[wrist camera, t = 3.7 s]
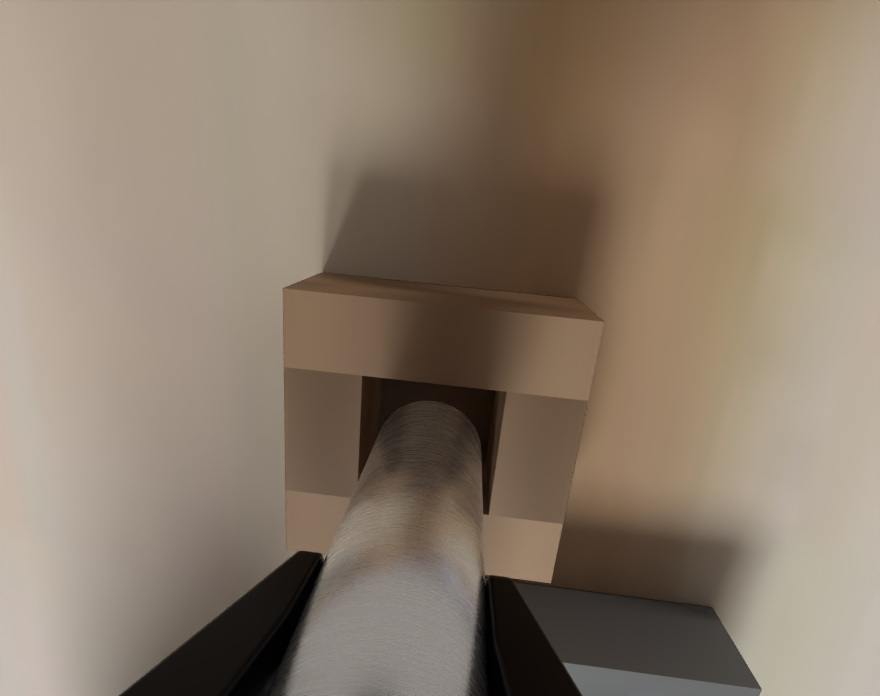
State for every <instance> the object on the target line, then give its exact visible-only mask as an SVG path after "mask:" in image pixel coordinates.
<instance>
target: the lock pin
mask: <svg viewBox="0 0 880 696" xmlns="http://www.w3.org/2000/svg"><path fill="white" fill-rule="evenodd" d="M267 696H489V689H488V658H487V626H486V594H485V560H484V527H483V495H482V463H481V443H480V438H479V435H478V433H477V430H476V428H475V427H474V425H473V424H472V422H471V421H470V420H469V419H468V418H467V417H466V416H465V415H464V414H463V413H462V412H460V411H459V410H457V409H456V408H454V407H452V406H450V405H447V404H444V403H441V402H436V401H418V402H413V403H410V404H407V405H404V406H402V407H400V408H399V409H397V410H396V411H394V412H393V413H392V414H391V415H390V416H389V417H388V418H387V419H386V420H385V422H384V424H383V425H382V427H381V429H380V432H379V434H378V436H377V439H376V441H375V443H374V446H373V448H372V450H371V453H370V455H369V457H368V460H367V462H366V464H365V467H364V469H363V471H362V474H361V476H360V478H359V481H358V483H357V485H356V488H355V490H354V492H353V495H352V497H351V499H350V502H349V504H348V507H347V509H346V511H345V514H344V516H343V518H342V521H341V523H340V525H339V528H338V530H337V532H336V535H335V537H334V539H333V542H332V544H331V546H330V549H329V551H328V553H327V556H326V558H325V560H324V563H323V565H322V567H321V570H320V572H319V574H318V577H317V579H316V581H315V584H314V586H313V588H312V591H311V593H310V595H309V598H308V600H307V602H306V605H305V607H304V609H303V612H302V614H301V616H300V619H299V621H298V623H297V626H296V628H295V630H294V633H293V635H292V637H291V640H290V642H289V644H288V647H287V649H286V651H285V654H284V656H283V658H282V661H281V663H280V665H279V668H278V670H277V672H276V675H275V677H274V679H273V682H272V684H271V687H270V689H269V691H268V694H267Z"/></svg>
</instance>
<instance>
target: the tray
mask: <svg viewBox="0 0 880 696" xmlns="http://www.w3.org/2000/svg"><path fill="white" fill-rule="evenodd" d="M486 580H487V579H486V578H485V585H486ZM514 583H515V584H516V586H517V588H518V589H519V591H520V593H521V594H522V596H523V598H524V599H525V601H526V603H527V604H528V606H529V608H530V609H531V611H532V613H533V614H534V616H535V618H536V619H537V621H538V623H539V624H540V626H541V628H542V629H543V631H544V632H545V634H546V636H547V637H548V639H549V641H550V642H551V644H552V646H553V647H554V649H555V651H556V652H557V654H558V656H559V657H560V659H561V661H562V662H563V664H564V666H565V667H566V669H567V671H568V672H569V674H570V676H571V677H572V679H573V681H574V682H575V684H576V686H577V687H578V689H579V691H580V692H581V694H582V696H759V695H760V693H761V690H762V689H761V687H760V686H759V684H758V682H757V681H756V679H755V677H754V676H753V674H752V672H751V671H750V669H749V667H748V666H747V664H746V662H745V661H744V659H743V657H742V656H741V654H740V652H739V651H738V649H737V648H736V646H735V644H734V643H733V641H732V639H731V638H730V636H729V634H728V633H727V631H726V629H725V628H724V626H723V624H722V623H721V621H720V619H719V618H718V616H717V614H716V613H715V611H714V609H713V608H711V607H703V606H695V605H688V604H680V603H672V602H664V601H657V600H649V599H641V598H633V597H626V596H618V595H610V594H602V593H595V592H587V591H579V590H571V589H564V588H556V587H548V586H540V585H533V584H525V583H517V582H514Z"/></svg>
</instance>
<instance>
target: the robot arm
mask: <svg viewBox="0 0 880 696" xmlns="http://www.w3.org/2000/svg"><path fill="white" fill-rule="evenodd" d="M323 563H324V559H323V555H322V554H321V553H319V552H311V551H299V552H297V553H295V554H294V555H293V556H292V557H290V558H289V559H288V560H287V561H285V562H284V563H283V564H282V565H280V566H279V567H278V568H277V569H275V570H274V571H273V572H272V573H270V574H269V575H268V576H267V577H266V578H264V579H263V580H262V581H261V582H259V583H258V584H257V585H256V586H254V587H253V588H252V589H251V590H249V591H248V592H247V593H246V594H244V595H243V596H242V597H241V598H239V599H238V600H237V601H236V602H234V603H233V604H232V605H231V606H229V607H228V608H227V609H226V610H225V611H223V612H222V613H221V614H220V615H218V616H217V617H216V618H215V619H213V620H212V621H211V622H210V623H208V624H207V625H206V626H205V627H203V628H202V629H201V630H200V631H198V632H197V633H196V634H195V635H193V636H192V637H191V638H190V639H189V640H187V641H186V642H185V643H184V644H182V645H181V646H180V647H179V648H177V649H176V650H175V651H174V652H172V653H171V654H170V655H169V656H167V657H166V658H165V659H164V660H162V661H161V662H160V663H159V664H157V665H156V666H155V667H154V668H153V669H151V670H150V671H149V672H148V673H146V674H145V675H144V676H143V677H141V678H140V679H139V680H138V681H136V682H135V683H134V684H133V685H131V686H130V687H129V688H128V689H126V690H125V691H124V692H123V693H121V694H120V695H119V696H267V694H268V691H269V689H270V687H271V684H272V682H273V679H274V677H275V675H276V672H277V670H278V668H279V665H280V663H281V661H282V658H283V656H284V654H285V651H286V649H287V647H288V644H289V642H290V640H291V637H292V635H293V633H294V630H295V628H296V626H297V623H298V621H299V619H300V616H301V614H302V612H303V609H304V607H305V605H306V602H307V600H308V598H309V595H310V593H311V591H312V588H313V586H314V584H315V581H316V579H317V577H318V574H319V572H320V570H321V567H322V565H323ZM485 594H486V626H487V658H488V689H489V696H582V694H581V692H580V691H579V689H578V687H577V686H576V684H575V682H574V681H573V679H572V677H571V676H570V674H569V672H568V671H567V669H566V667H565V666H564V664H563V662H562V661H561V659H560V657H559V656H558V654H557V652H556V651H555V649H554V647H553V646H552V644H551V642H550V641H549V639H548V637H547V636H546V634H545V632H544V631H543V629H542V628H541V626H540V624H539V623H538V621H537V619H536V618H535V616H534V614H533V613H532V611H531V609H530V608H529V606H528V604H527V603H526V601H525V599H524V598H523V596H522V594H521V593H520V591H519V589H518V588H517V586H516V584H515V583H514V581H513V580H512V579H511V578H509V577H504V576H496V575H490V576H488V577H487V580H486V585H485Z"/></svg>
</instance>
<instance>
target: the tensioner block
mask: <svg viewBox="0 0 880 696" xmlns="http://www.w3.org/2000/svg"><path fill="white" fill-rule="evenodd" d="M603 327H604V321H603V320H602V319H601V318H599V317H598V316H597V315H596V314H595V313H593V312H592V311H591V310H590V309H589V308H588V307H586V306H585V305H584V304H583V303H582V302H580V301H579V300H578V299H573V298H563V297H554V296H544V295H534V294H524V293H515V292H505V291H495V290H485V289H475V288H466V287H456V286H446V285H436V284H426V283H417V282H407V281H397V280H387V279H377V278H368V277H358V276H348V275H338V274H329V273H320V274H317V275H315V276H312V277H310V278H307V279H305V280H302V281H300V282H297V283H295V284H292V285H290V286H288V287H285V288H283V337H284V410H285V482H286V549H288V550H296V551H311V552H319V553H321V554H327V553H328V551H329V549H330V546H331V544H332V542H333V539H334V537H335V535H336V532H337V530H338V528H339V525H340V523H341V521H342V518H343V516H344V514H345V511H346V509H347V507H348V504H349V502H350V499H351V497H352V495H353V492H354V490H355V488H356V485H357V483H358V481H359V478H360V476H361V474H362V471H363V469H364V467H365V464H366V462H367V460H368V457H369V455H370V453H371V450H372V448H373V446H374V443H375V441H376V439H377V436H378V434H379V423H380V405H381V387H382V378H387V379H396V380H405V381H414V382H423V383H432V384H441V385H450V386H459V387H468V388H477V389H486V390H495V397H494V404H493V412H492V419H491V426H490V433H489V441H488V448H487V455H486V459H481V463H482V495H483V527H484V560H485V575H496V576H504V577H509V578H514V579H522V580H529V581H537V582H545V583H551V580H552V575H553V570H554V565H555V560H556V556H557V551H558V546H559V541H560V536H561V531H562V526H563V521H564V517H565V512H566V507H567V502H568V497H569V492H570V487H571V483H572V478H573V473H574V468H575V463H576V458H577V453H578V449H579V444H580V439H581V434H582V429H583V424H584V419H585V415H586V410H587V405H588V400H589V395H590V390H591V385H592V381H593V376H594V371H595V366H596V361H597V356H598V351H599V347H600V342H601V337H602V332H603Z"/></svg>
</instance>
